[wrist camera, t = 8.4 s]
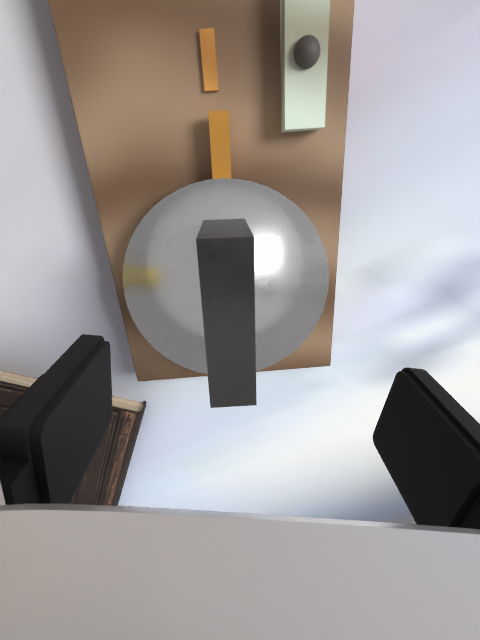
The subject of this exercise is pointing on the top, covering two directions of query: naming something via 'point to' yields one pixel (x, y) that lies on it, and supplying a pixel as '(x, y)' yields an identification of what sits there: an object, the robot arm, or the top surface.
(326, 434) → the top surface
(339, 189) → the levelling base
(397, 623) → the robot arm
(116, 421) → the hardcover book
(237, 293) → the cam dial
